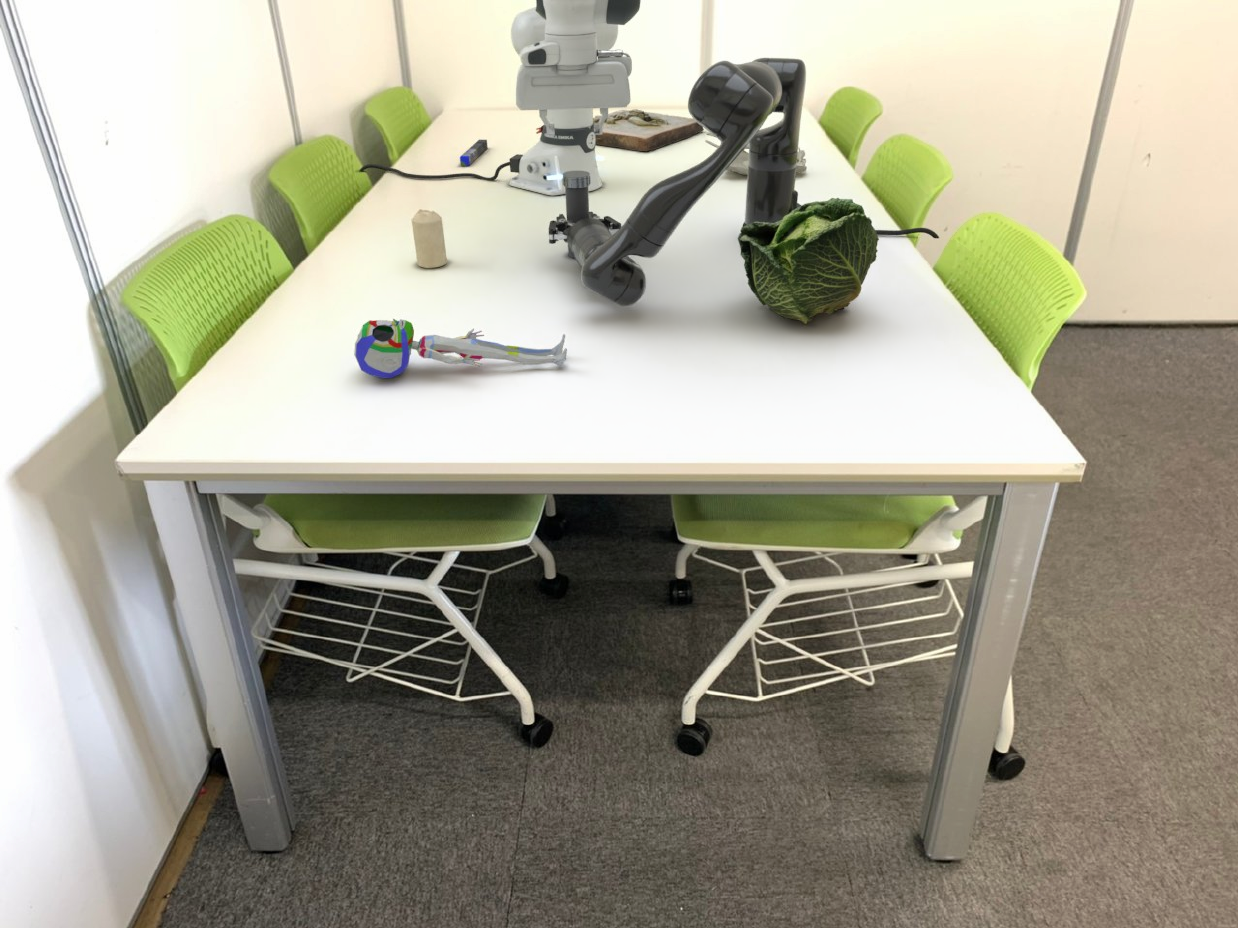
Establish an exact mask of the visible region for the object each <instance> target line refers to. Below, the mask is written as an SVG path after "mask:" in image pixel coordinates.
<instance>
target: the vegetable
mask: <svg viewBox="0 0 1238 928" xmlns="http://www.w3.org/2000/svg"><path fill="white" fill-rule="evenodd" d="M801 205H802V206H800V207H798V208H796V209H795V210H793V211H791V212H790V214H788V215H786V216H784V218H783V219H782V220H780V221H778V222H775V223H767V222H753V223H750V224H748V225H746V226H743V225H742V227H741V229H740V233H739V234H738V237H737V240H738V244H739V249H740V257H741V258H742V259H743V261H744V263H743V268H744V271H745V277H746V278H747V285H748V287H749V289H750V290H751V292H752V293H753V294H754V295H755V297H756V298H757V300H758V301H759V303H760V304H761V305H762V306H763V307H764V306H768V308H769V309H770V310H771V311H772V312H774V313H776V314H777V315H779V316H781V317H783V318H786V319H790V320H796V321H797V320H798V321H800V322H802V323H803V324H805V325H807V324H808V322H813V320H812V319H811V318H812V317H815V316H816V315H817V314H818V313H819V314H821V313H825V314H829V315H832V314H833V313H835V312H837V311H844V310H845V309H846V308H848V307H849V305H850V304H851V302H853V301H855V300H856V299H857V298H858V297H859V296H860V293H861V291H862V285H863V284H864V282H865V280H866V277H867V275H868V272H869V269H870V268H871V265H872V264H873V263H874V262H876V261H877V256H878V255H877V253H878V251H879V250H878V248H877V247H878V242H879V237H878V235H877V234H876V230H877V229H875V228H874V226H873V221H872V219H871V218H870V216H868V217H867V215H866V214H865V213H866V212H865V209H864V207H863V205H861V204H859V203H856V202H854V201H853V198H839V197H836V198H834V197H831V198H829V199H828V200H822V201H821V200H820V201H817V200H815V201H813V202H808V203H807V202H805V203H804V204H801Z"/></svg>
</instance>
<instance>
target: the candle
mask: <svg viewBox="0 0 1238 928" xmlns="http://www.w3.org/2000/svg"><path fill="white" fill-rule="evenodd" d="M411 227H412V234H413V241H414V247H415V254H416V261H417V262H416V263H417V266H419V267H421V268H425V269H432V268H439V267H442V266H445V265H446V264H447V262H448V259H447V250H446V243H445V234H444V226H443V218H442V216H441V215H440V214H439V213H437V212H435V211H434V210H429V209H419V210H417V212H416V213H415V214H414V215H413V216H412V218H411Z"/></svg>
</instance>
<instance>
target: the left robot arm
mask: <svg viewBox="0 0 1238 928" xmlns="http://www.w3.org/2000/svg"><path fill="white" fill-rule="evenodd" d="M641 2H642V0H535V4H536V5H535V7H531V8H529V9H526V10H523V11H521V12H518V13H517V14H516V15H515V17H514V18H513V21H512V24H511V28H510V40H511V43H512V46H513V49H514V51H515V53H516V54H517V55H518V56H519V58H520V62H521V65H520V66H519V68H518V70H517V75H516V83H515V105H516V107H517V108H518V109H519V110H520V111H538V113H539V115H538V116H539V118H540V120H541V121H542V123H543V125H541V126H540V127H537V128H535V130H536V132H535V133H536V134H540V138H539V141H538V142H536V143H535V144H534V145H533V146H532V147H530V149H529V150H527V151H526V152H525V153H524V154H520V153H519V154H518V153H517V154H514V155H513V156H511V157H510V158H509V161H508V162H507V161H506V162H504V163H502V164H500V165H499V166H498V167H497V168H496V169H495V173H494V175H493V176H491V177H486V176H482V175H480V174H476V173H471V172H462V173H461V172H459V173H451V174H435V175H434V174H433V175H431V174H429V175H428V174H415V173H408V172H404V171H401V169H397V168H393V167H389V166H388V167H387V166H383V165H380V164H374V163H369V164H365V165H363V166H361V168H360V169H359V170H358V172H359V173H360V172H361V173H362V172H364V171H365V170H367V169H371V168H372V169H379V170H383V171H386V172H391V173H392V172H393V173H396V174H398V175H400V176H402V177H406V178H413V179H422V180H443V179H452V178H453V179H454V178H475V179H479V180H483V181H489V182H492V181H493V182H494V181H495V180H497V178H498V177H499V174H500V172H501V170H502V169H504V168H507V167H509V171H510V173H516V175H514V176H513V177H512V178H511V179H510V180H509V186H511V187H514V188H517V189H518V188H519V189H523V190H527V191H531V192H535V193H539V194H543V195H545V196H559V195H566V193H565V187H564V186H563V180H562V176H563V173H565V172H568V171H586V172H589V173H590V182H591V184H590V185H589V186H588V193H589V192H592V191H595V190H598V189H600V188H601V187H602V186H603V183H602V180H601V178H600V177H601V176H600V173H599V168H598V163H597V161H605V156H602V155H596V145H597V144H596V135H600V134H602V133H603V132H602V124H603V123H604V122H605V120H606V118H607V116H608V114H609V109H617V108H618V109H619V108H621V109H622V108H623V109H624V108H628V107H629V104H630V103H631V89H630V80H629V77H630V76H631V74H632V70H633V63H632V58H631V56H630V55H629V54H628V53H627V52H624V50H623V49H615V50H613V47H614V46H615V44H616V42H617V41H618V35H619V26H625V25H626V24H628V23H629V22H630V21H631V20H632V19H633V18H634V17H635V16H636V15H637V13H638V12H639V11H640V8H641ZM611 49H612V50H611ZM594 109H599V114H600V116H601V118H600V120H599V122H598V123H593V118H594ZM517 173H518V174H517Z"/></svg>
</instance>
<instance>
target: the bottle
mask: <svg viewBox="0 0 1238 928" xmlns="http://www.w3.org/2000/svg"><path fill="white" fill-rule="evenodd" d="M565 193H566V194H565V214H566V220H573V221H575V222H578V221H580V220H582V219H585V218H589V212H590V202H589V201H590V198H589V192H588V187H584V188H567V187H565ZM567 254H568V257H569V258H571V259H573V260H574V259H575V260H577V259H576V258H575V257H574V255H573V252H572V251H571V249H570V247H569V244H568V243H567Z"/></svg>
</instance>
